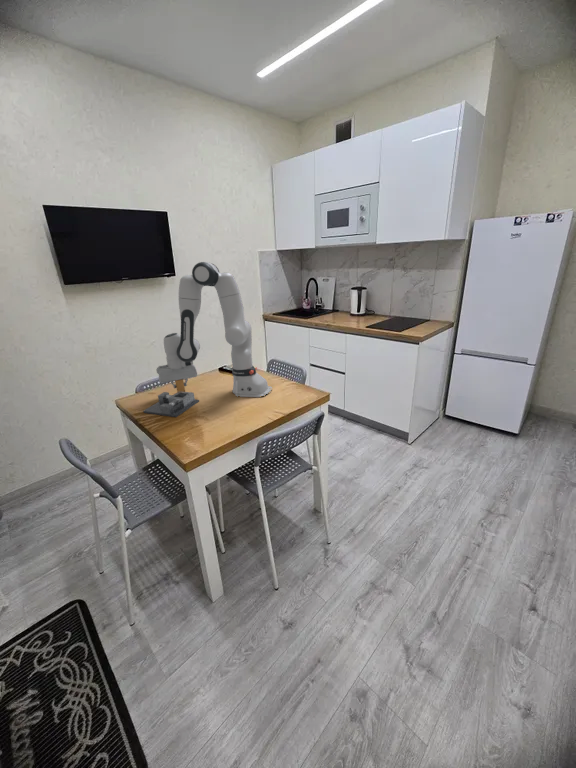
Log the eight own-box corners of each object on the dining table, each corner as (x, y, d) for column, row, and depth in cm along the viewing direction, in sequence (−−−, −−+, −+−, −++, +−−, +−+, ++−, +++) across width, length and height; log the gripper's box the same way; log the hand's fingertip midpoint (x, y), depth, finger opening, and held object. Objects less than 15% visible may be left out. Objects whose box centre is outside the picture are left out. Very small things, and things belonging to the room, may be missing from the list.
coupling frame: (199, 401, 168) (197, 391, 166) (176, 417, 151) (174, 406, 149) (168, 397, 175) (166, 388, 173) (143, 412, 158) (141, 402, 156)
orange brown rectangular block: (184, 392, 181) (182, 377, 178) (185, 394, 178) (183, 379, 174) (177, 393, 180) (174, 379, 176) (178, 396, 176) (175, 381, 173)
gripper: (156, 368, 165) (161, 392, 170) (195, 361, 173) (199, 385, 178) (155, 365, 171) (160, 388, 176) (193, 358, 178) (197, 381, 183)
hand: (180, 386), depth 177 cm, fingers closed on orange brown rectangular block, 4 cm apart
